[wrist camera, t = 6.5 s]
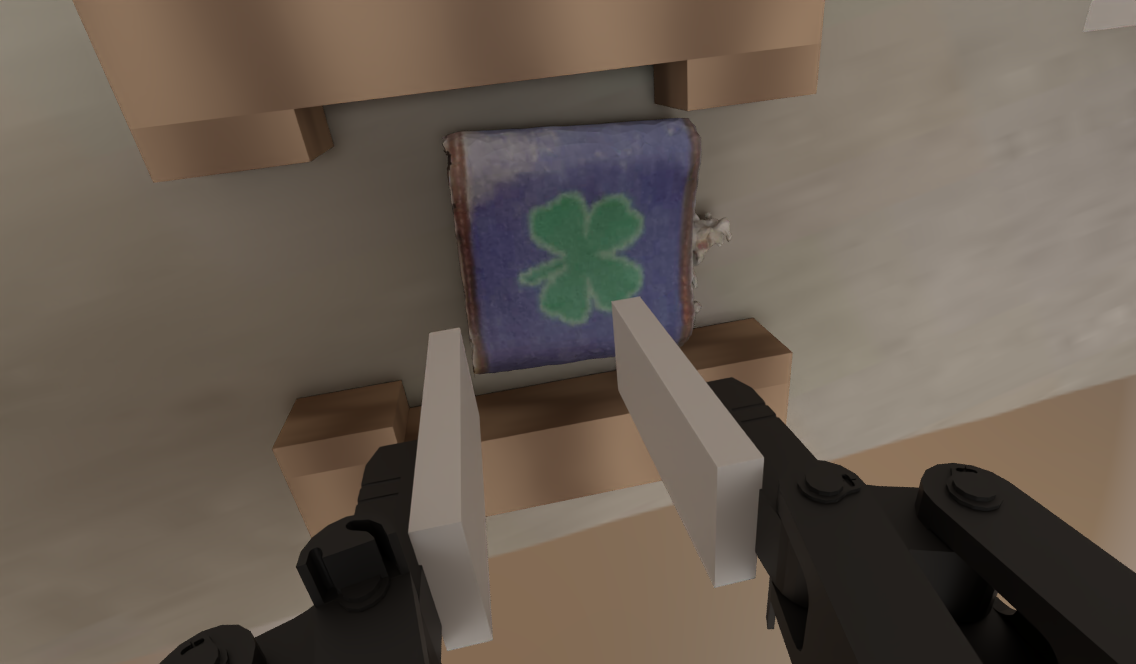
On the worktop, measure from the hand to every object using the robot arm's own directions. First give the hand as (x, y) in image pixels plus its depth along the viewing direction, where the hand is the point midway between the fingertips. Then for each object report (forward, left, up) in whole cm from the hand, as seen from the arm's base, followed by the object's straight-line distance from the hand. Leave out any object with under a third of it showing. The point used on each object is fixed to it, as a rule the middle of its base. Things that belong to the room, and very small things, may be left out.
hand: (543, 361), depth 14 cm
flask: (-2, 0, -10) cm, 10 cm away
